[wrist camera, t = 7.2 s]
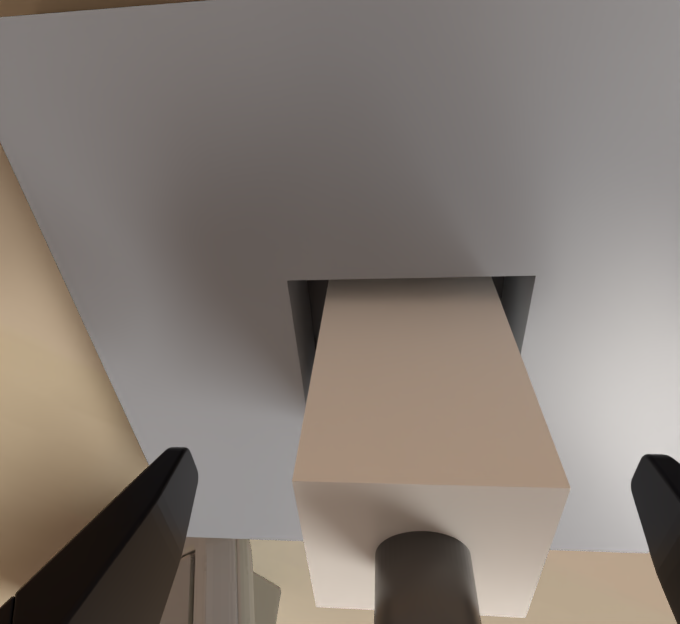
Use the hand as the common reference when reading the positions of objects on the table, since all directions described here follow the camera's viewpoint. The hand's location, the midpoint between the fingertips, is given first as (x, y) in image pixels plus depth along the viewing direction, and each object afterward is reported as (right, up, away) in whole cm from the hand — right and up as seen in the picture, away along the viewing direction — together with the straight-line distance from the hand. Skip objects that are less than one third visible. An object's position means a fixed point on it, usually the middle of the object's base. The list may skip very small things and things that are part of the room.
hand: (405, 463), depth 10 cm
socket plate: (+1, +3, +4) cm, 5 cm away
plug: (+1, +3, +4) cm, 5 cm away
